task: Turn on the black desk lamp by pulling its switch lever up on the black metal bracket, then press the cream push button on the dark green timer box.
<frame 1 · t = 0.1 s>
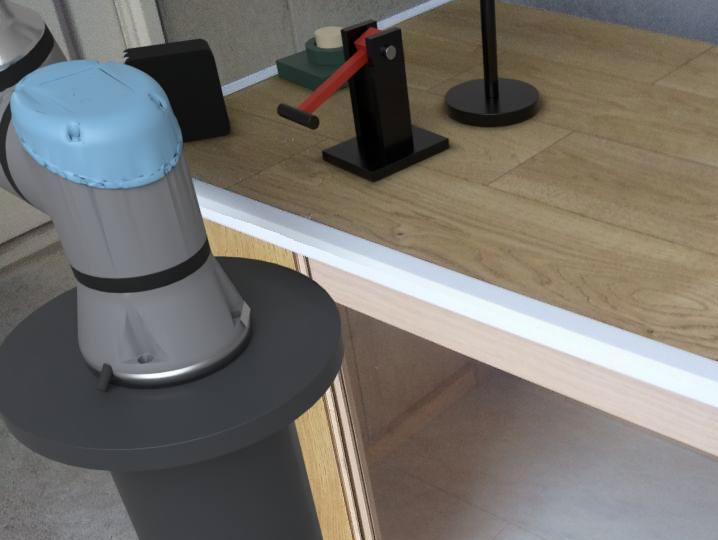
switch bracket: (386, 154, 116), on the worktop
electronic device: (189, 136, 121), on the worktop
timer box: (336, 73, 135), on the worktop
switch lever: (338, 78, 107), point 10 cm above the worktop, hinge at -20.0°
timer button: (330, 38, 132), point 4 cm above the worktop, slide at 0.1 cm
desk lamp: (492, 108, 126), on the worktop
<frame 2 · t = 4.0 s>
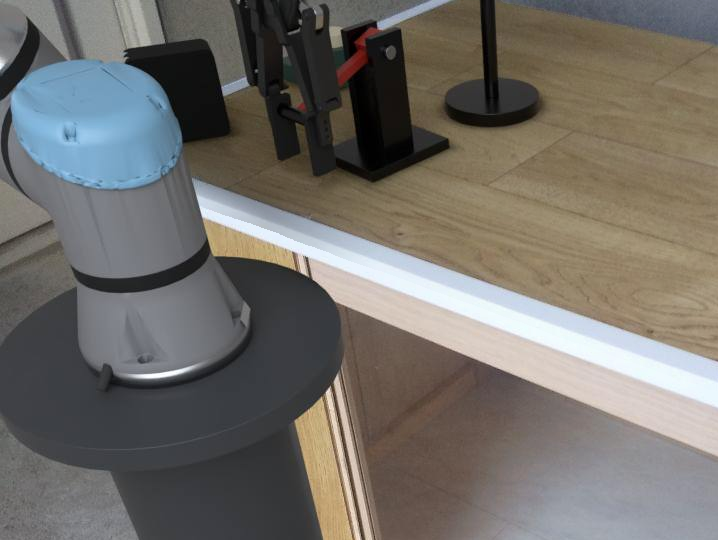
hand: (307, 163, 109), 3 cm above the worktop, tool pointing down, fingers closed on switch lever, 5 cm apart
switch lever: (338, 78, 107), point 10 cm above the worktop, hinge at -20.0°, touching gripper
everything else where it was.
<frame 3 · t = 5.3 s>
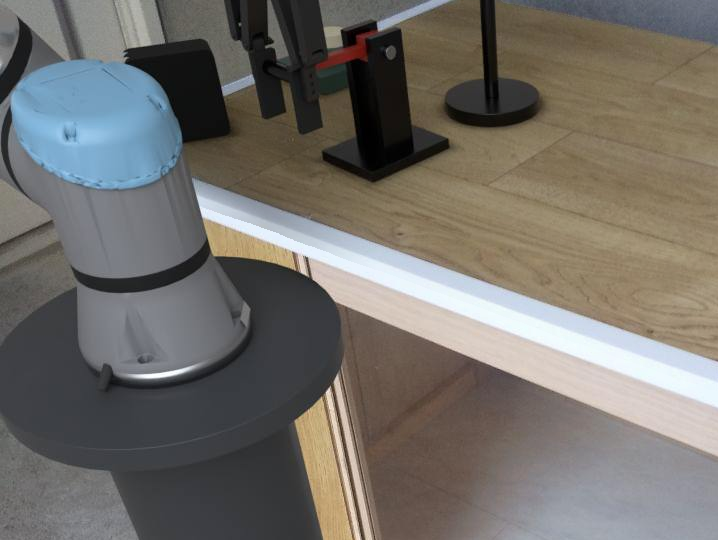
hand: (292, 122, 105), 8 cm above the worktop, tool pointing down, fingers closed on switch lever, 5 cm apart
switch lever: (332, 58, 105), point 12 cm above the worktop, hinge at 2.4°, touching gripper
everything else where it was.
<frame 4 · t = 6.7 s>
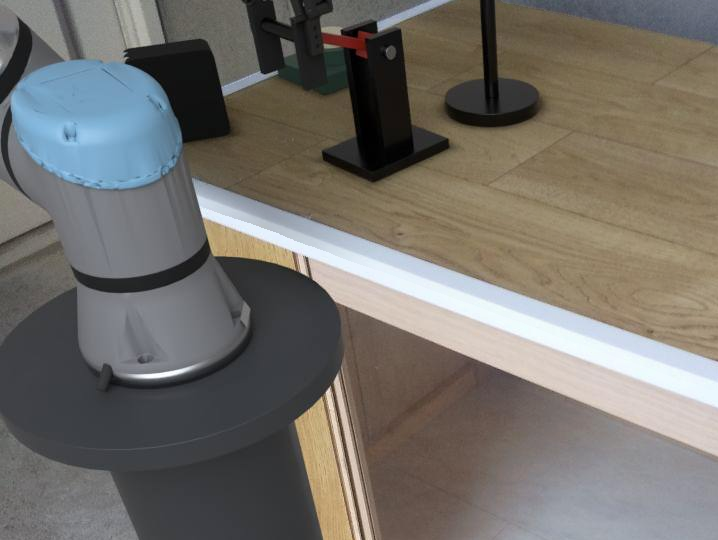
hand: (293, 77, 103), 12 cm above the worktop, tool pointing down, fingers open, 6 cm apart
switch lever: (332, 39, 104), point 14 cm above the worktop, hinge at 21.4°
everything else where it was.
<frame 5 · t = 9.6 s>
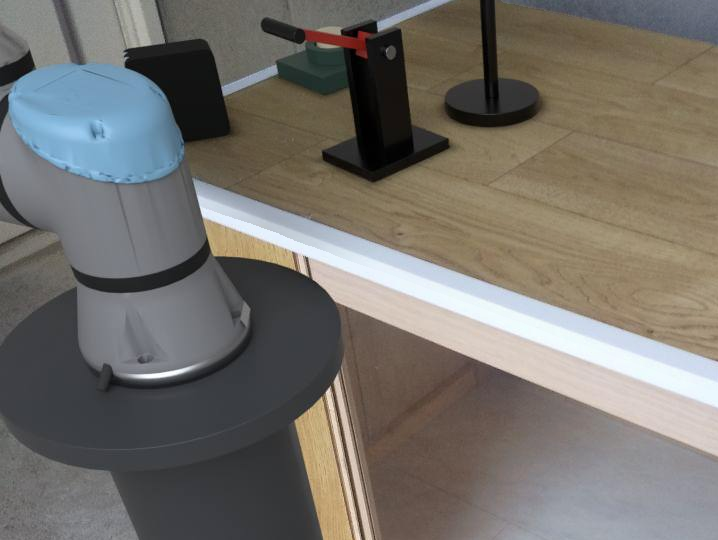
nothing on the worktop moved.
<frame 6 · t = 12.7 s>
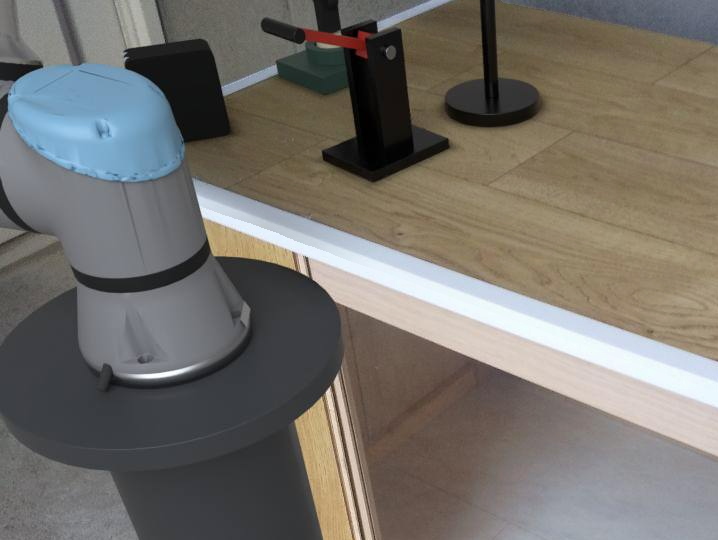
hand: (329, 30, 132), 5 cm above the worktop, tool pointing down, fingers closed
timer button: (331, 40, 132), point 4 cm above the worktop, slide at -0.1 cm, touching gripper
everything else where it was.
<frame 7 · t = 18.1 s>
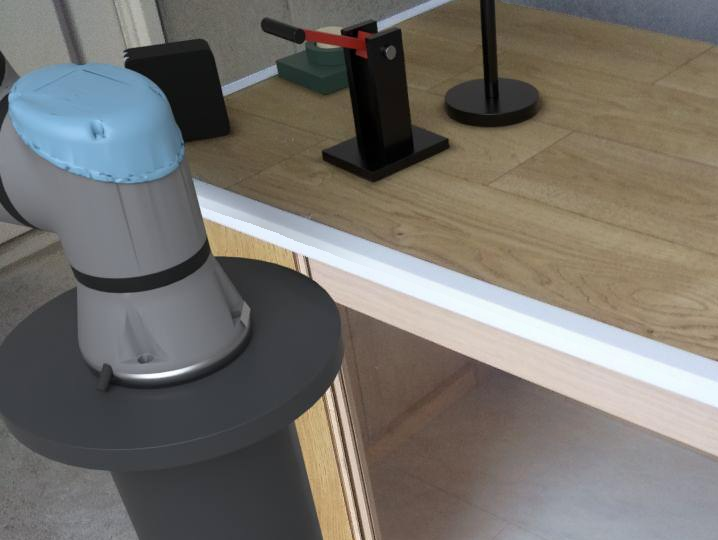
timer button: (330, 38, 132), point 4 cm above the worktop, slide at 0.1 cm
everything else where it was.
at the end: switch lever at +21° (first picture: -20°); timer button pushed in 1.0 cm at the most during the clip, back to where it started at the end; timer button slide at 0.1 cm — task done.
